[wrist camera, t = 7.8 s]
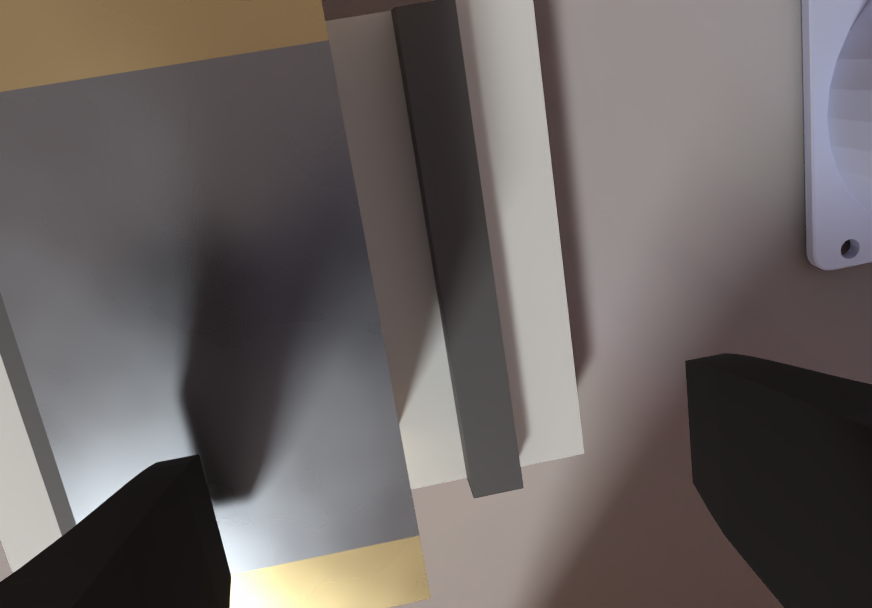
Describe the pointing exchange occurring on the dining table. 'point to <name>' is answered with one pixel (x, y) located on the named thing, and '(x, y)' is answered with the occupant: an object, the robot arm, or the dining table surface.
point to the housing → (205, 283)
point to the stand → (415, 259)
